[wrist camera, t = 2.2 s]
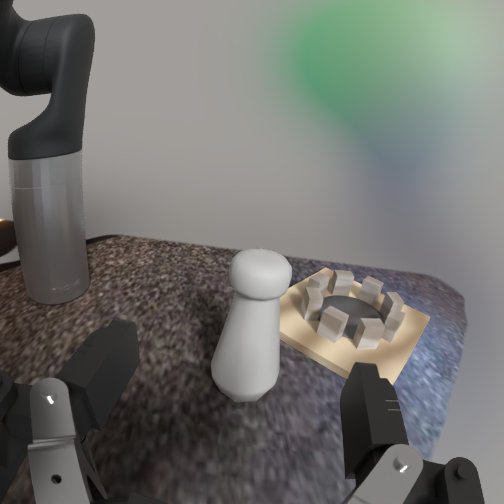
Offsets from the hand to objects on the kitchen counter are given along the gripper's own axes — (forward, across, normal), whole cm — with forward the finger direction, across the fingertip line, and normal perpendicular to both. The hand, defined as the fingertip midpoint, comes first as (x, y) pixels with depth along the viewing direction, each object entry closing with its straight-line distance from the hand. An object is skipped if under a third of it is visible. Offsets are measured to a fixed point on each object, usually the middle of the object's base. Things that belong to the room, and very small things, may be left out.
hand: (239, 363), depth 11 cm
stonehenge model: (+24, -11, +14) cm, 30 cm away
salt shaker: (+12, 0, +14) cm, 18 cm away
